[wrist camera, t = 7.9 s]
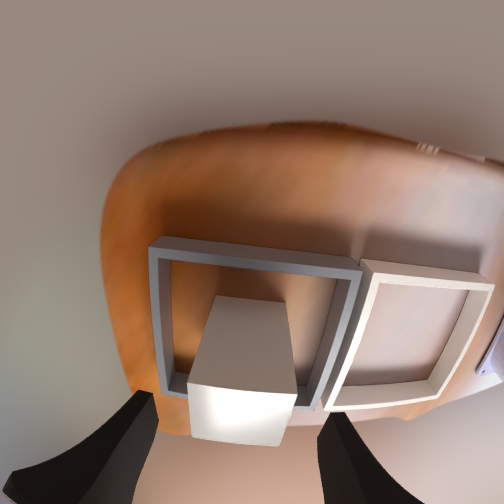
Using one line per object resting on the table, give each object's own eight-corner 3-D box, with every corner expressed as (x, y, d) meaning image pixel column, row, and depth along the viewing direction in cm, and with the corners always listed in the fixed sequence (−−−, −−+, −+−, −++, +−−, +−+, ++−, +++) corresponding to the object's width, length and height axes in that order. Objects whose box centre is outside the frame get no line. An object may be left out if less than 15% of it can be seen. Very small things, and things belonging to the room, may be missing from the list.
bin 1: (351, 257, 14) (363, 271, 12) (311, 390, 18) (314, 410, 16) (162, 235, 14) (148, 246, 12) (169, 374, 18) (161, 393, 16)
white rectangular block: (285, 302, 15) (297, 394, 9) (275, 355, 17) (278, 445, 10) (215, 295, 15) (187, 382, 9) (213, 348, 17) (192, 437, 10)
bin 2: (479, 273, 14) (495, 284, 12) (428, 383, 18) (437, 398, 16) (360, 258, 14) (373, 272, 12) (319, 390, 18) (323, 410, 16)
